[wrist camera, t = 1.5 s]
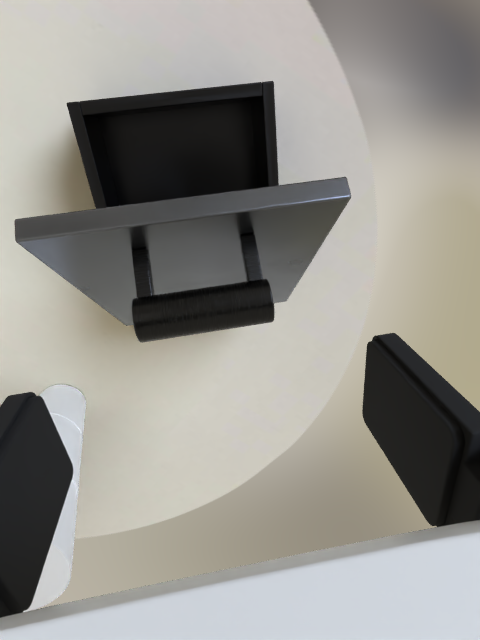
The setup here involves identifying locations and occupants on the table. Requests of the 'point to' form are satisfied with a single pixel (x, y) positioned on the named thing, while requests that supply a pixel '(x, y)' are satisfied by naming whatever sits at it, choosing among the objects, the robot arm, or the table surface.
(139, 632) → the robot arm
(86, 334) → the table surface
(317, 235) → the lid
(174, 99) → the open box
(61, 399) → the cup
